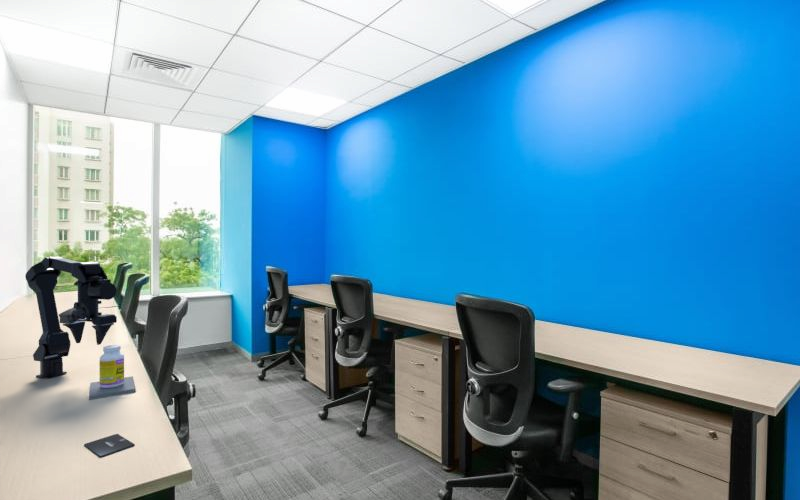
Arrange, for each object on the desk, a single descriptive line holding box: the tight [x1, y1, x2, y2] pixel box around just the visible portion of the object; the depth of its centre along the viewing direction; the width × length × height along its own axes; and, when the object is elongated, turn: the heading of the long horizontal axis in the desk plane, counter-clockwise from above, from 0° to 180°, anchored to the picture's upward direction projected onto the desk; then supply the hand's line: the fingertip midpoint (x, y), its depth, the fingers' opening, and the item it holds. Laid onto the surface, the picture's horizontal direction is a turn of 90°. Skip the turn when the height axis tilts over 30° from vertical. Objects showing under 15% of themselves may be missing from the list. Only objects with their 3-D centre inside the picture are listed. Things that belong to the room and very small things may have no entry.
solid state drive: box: [83, 433, 136, 458], centre depth 98 cm, size 7×10×1 cm
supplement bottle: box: [99, 344, 125, 388], centre depth 137 cm, size 7×7×13 cm
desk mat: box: [88, 375, 137, 401], centre depth 137 cm, size 16×12×1 cm
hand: (88, 343), depth 145 cm, fingers open, 9 cm apart
